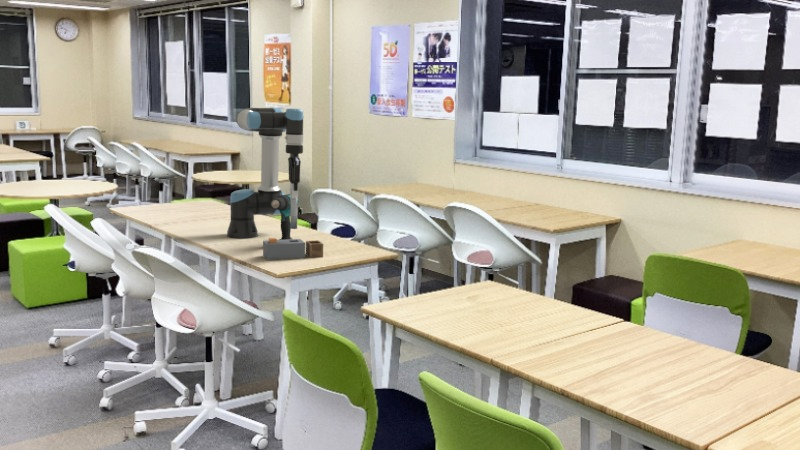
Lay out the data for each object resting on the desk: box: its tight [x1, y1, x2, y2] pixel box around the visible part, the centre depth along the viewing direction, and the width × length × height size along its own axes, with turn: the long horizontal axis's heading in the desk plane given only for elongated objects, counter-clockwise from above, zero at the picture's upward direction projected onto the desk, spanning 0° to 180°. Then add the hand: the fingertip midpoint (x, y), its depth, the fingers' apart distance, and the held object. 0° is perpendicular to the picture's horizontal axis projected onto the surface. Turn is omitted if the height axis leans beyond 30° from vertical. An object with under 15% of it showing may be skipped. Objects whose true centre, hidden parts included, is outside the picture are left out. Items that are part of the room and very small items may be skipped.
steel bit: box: [290, 188, 298, 230], centre depth 320 cm, size 3×3×18 cm
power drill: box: [271, 193, 300, 240], centre depth 341 cm, size 26×9×25 cm, turn 168°
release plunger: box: [268, 237, 278, 243], centre depth 319 cm, size 3×3×8 cm
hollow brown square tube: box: [305, 240, 324, 258], centre depth 327 cm, size 8×6×6 cm
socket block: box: [262, 238, 306, 261], centre depth 321 cm, size 9×17×7 cm, turn 112°
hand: (294, 197), depth 319 cm, fingers closed on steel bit, 3 cm apart
